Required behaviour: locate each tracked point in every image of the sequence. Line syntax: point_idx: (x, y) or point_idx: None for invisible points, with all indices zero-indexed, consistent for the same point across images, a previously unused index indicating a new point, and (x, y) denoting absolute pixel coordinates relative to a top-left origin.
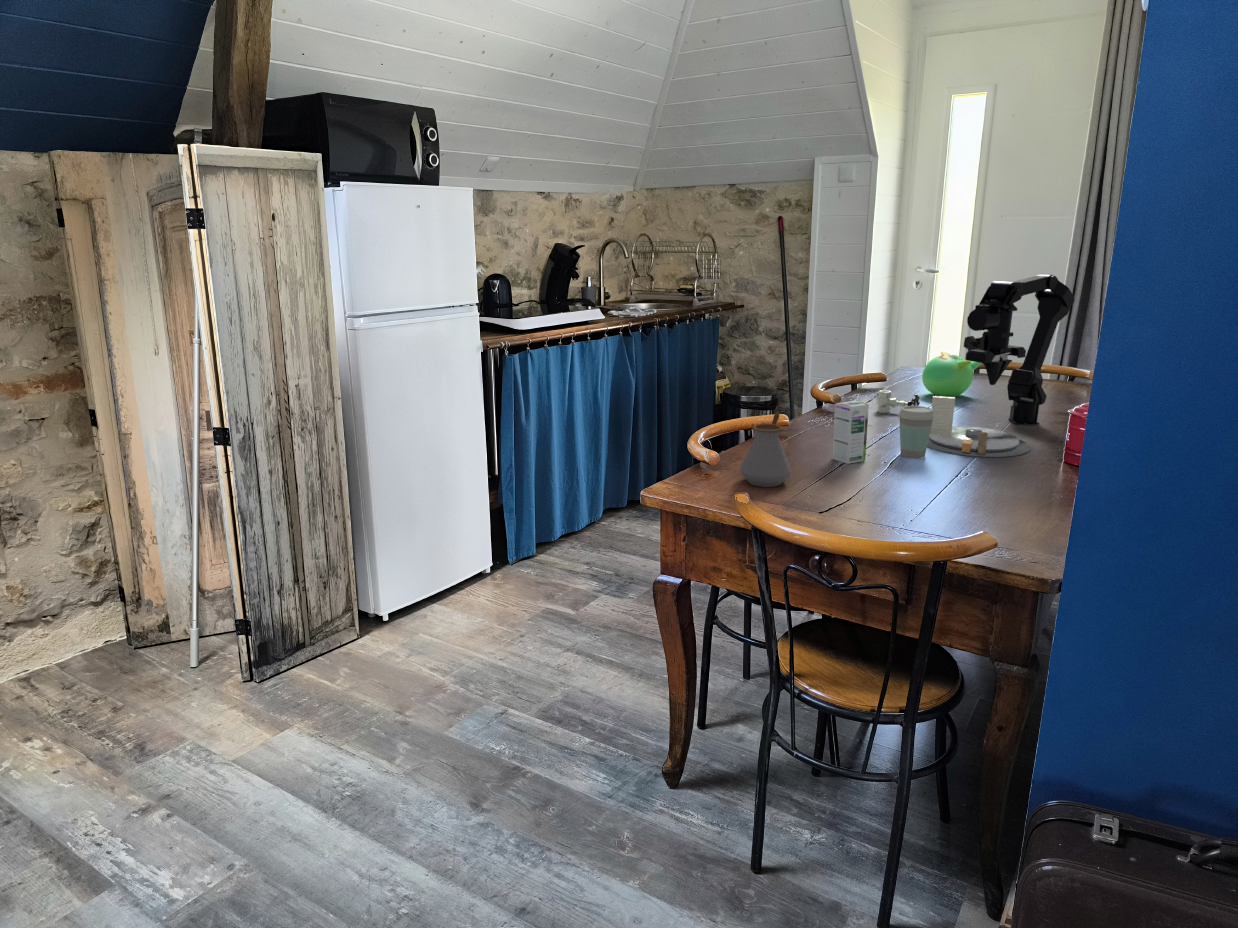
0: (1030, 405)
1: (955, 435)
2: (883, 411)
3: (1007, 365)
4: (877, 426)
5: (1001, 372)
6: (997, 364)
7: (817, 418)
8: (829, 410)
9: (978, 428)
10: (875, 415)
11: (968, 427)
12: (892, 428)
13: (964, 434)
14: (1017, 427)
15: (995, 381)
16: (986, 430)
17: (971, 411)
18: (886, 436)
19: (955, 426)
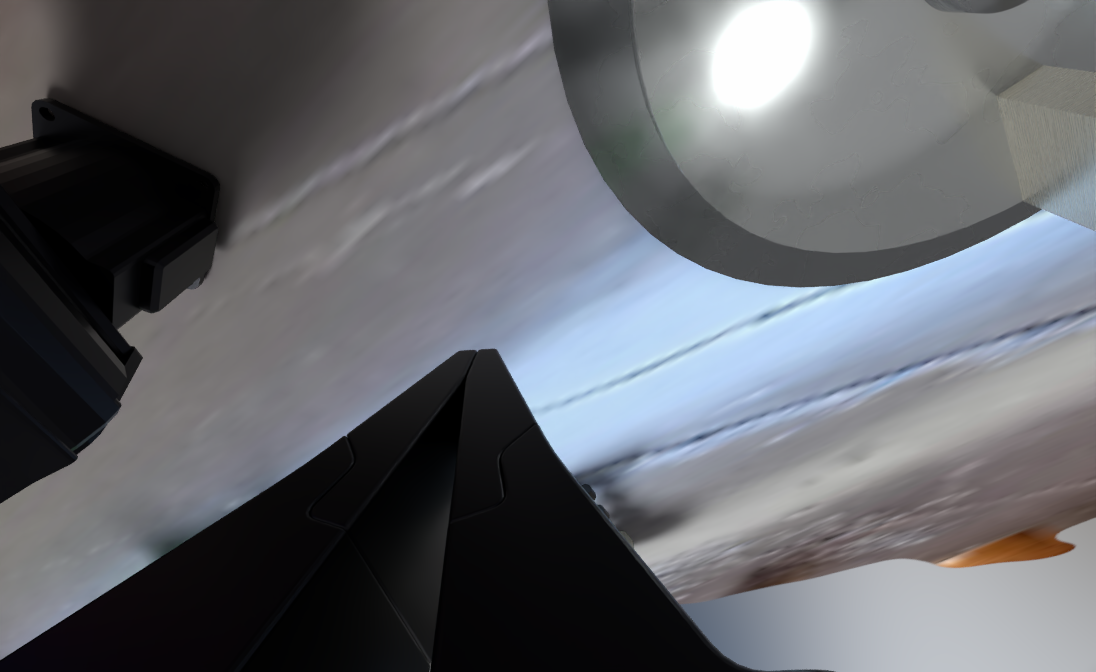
0: (10, 192)
1: (1034, 42)
2: (627, 538)
3: (139, 589)
4: (846, 438)
5: (374, 450)
6: (708, 658)
7: (861, 551)
8: (731, 587)
9: (694, 113)
10: (682, 523)
11: (718, 171)
12: (841, 399)
13: (961, 26)
14: (257, 130)
15: (475, 366)
16: (709, 30)
17: (288, 450)
18: (1022, 325)
19: (751, 230)
